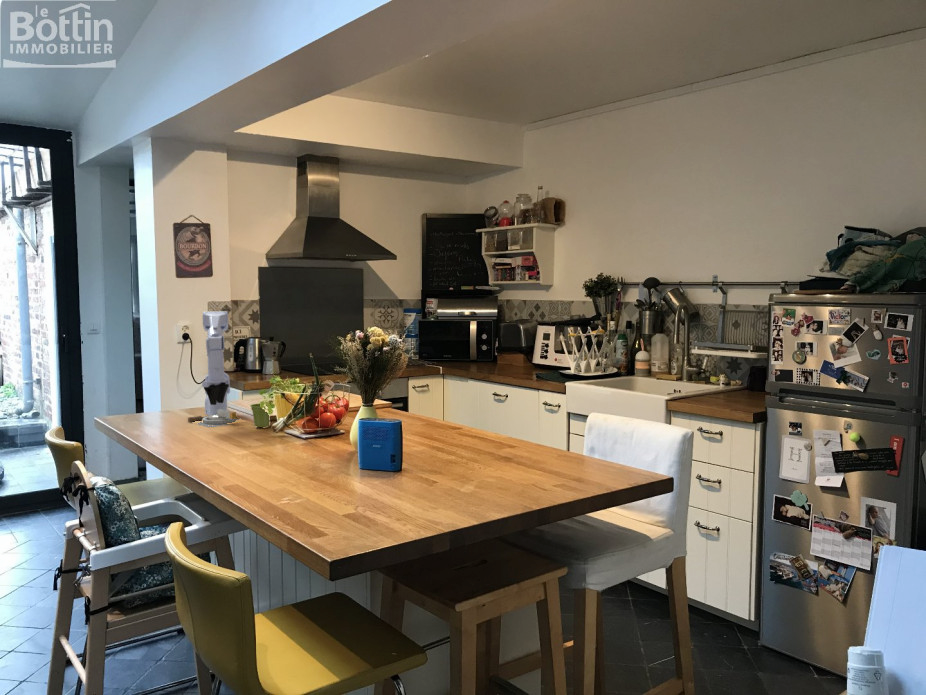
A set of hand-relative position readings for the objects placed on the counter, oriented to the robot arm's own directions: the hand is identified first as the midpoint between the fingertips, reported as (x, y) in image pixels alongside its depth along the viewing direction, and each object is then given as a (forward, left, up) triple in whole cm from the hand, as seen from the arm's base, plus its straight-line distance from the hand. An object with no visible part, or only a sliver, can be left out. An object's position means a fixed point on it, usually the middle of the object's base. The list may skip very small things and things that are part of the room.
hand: (216, 403), depth 282 cm
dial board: (-9, +6, -9) cm, 14 cm away
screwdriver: (-16, +3, -9) cm, 18 cm away
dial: (-5, +6, -8) cm, 12 cm away
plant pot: (+11, +13, -10) cm, 20 cm away
